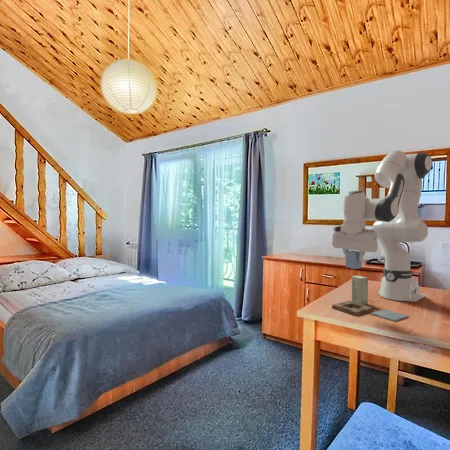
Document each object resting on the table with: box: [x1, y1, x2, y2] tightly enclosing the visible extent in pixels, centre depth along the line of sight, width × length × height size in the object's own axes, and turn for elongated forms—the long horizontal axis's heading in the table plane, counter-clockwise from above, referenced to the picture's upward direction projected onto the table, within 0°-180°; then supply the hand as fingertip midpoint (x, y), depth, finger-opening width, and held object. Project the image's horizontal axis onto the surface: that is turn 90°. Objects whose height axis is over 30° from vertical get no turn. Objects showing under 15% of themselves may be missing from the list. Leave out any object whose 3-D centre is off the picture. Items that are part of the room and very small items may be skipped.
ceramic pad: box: [370, 308, 409, 323], centre depth 127 cm, size 10×10×1 cm
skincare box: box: [351, 275, 369, 305], centre depth 145 cm, size 6×4×12 cm
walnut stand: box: [331, 300, 375, 317], centre depth 135 cm, size 12×12×2 cm
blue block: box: [345, 250, 363, 270], centre depth 134 cm, size 4×4×7 cm
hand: (353, 260), depth 134 cm, fingers closed on blue block, 4 cm apart
